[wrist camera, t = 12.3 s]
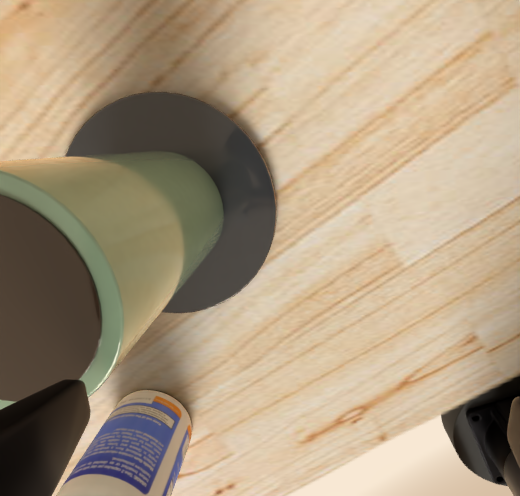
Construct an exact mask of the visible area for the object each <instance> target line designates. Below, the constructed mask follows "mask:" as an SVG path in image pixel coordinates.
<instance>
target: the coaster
mask: <svg viewBox="0 0 520 496" xmlns="http://www.w3.org/2000/svg"><path fill="white" fill-rule="evenodd" d="M146 151H169V152H175V153H178V154H181V155H183V156H185V157H188V158H190V159H191V160H193V161H194V162H196V163H197V164H198V165H200V166H201V167H202V168H203V169H204V170H205V171H206V172H207V173H208V174H209V175H210V177H211V178H212V180H213V181H214V183H215V185H216V186H217V188H218V191H219V193H220V196H221V199H222V203H223V210H224V220H223V227H222V231H221V234H220V237H219V239H218V241H217V243H216V245H215V246H214V248H213V249H212V250H211V251H210V253H209V254H208V255H207V256H206V258H205V259H204V260H203V261H202V262H201V264H200V265H199V266H198V267H197V269H196V270H195V271H194V272H193V274H192V275H191V276H190V277H189V278H188V280H187V281H186V282H185V283H184V285H183V286H182V287H181V288H180V290H179V291H178V292H177V293H176V294H175V296H174V297H173V298H172V299H171V301H170V302H169V303H168V304H167V306H166V307H165V308H164V309H163V310H162V312H168V313H187V312H195V311H200V310H205V309H208V308H211V307H213V306H216V305H218V304H220V303H223V302H225V301H227V300H228V299H230V298H231V297H233V296H234V295H236V294H237V293H239V292H240V291H241V290H242V289H243V288H244V287H245V286H247V285H248V284H249V282H250V281H251V280H252V279H253V278H254V277H255V275H256V274H257V273H258V271H259V270H260V268H261V266H262V265H263V263H264V261H265V259H266V257H267V255H268V252H269V250H270V247H271V244H272V240H273V237H274V232H275V226H276V210H277V206H276V197H275V190H274V186H273V182H272V178H271V175H270V172H269V170H268V167H267V165H266V162H265V160H264V158H263V157H262V155H261V153H260V151H259V149H258V148H257V146H256V145H255V144H254V142H253V141H252V139H251V138H250V137H249V135H248V134H247V133H246V132H245V131H244V130H243V129H242V128H241V127H240V126H239V125H238V124H237V123H236V122H235V121H233V120H232V119H231V118H230V117H228V116H227V115H226V114H225V113H223V112H221V111H220V110H218V109H216V108H215V107H213V106H211V105H209V104H207V103H205V102H202V101H200V100H198V99H195V98H192V97H188V96H185V95H181V94H176V93H168V92H147V93H140V94H134V95H131V96H128V97H125V98H122V99H119V100H117V101H115V102H113V103H111V104H109V105H107V106H105V107H104V108H103V109H101V110H100V111H98V112H97V113H96V114H94V115H93V116H92V117H91V118H90V119H89V120H88V121H87V122H86V123H85V124H84V125H83V127H82V128H81V129H80V131H79V132H78V133H77V134H76V136H75V138H74V139H73V141H72V143H71V145H70V147H69V149H68V151H67V154H66V157H72V156H86V155H101V154H116V153H131V152H146Z"/></svg>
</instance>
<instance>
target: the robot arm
mask: <svg viewBox="0 0 520 496" xmlns="http://www.w3.org/2000/svg"><path fill="white" fill-rule="evenodd" d="M465 415H466V418H467V421H468V423H469V426H470V428H471V431H472V433H473V436H474V438H475V440H476V443H477V445H478V448H479V450H480V453H481V455H482V458H483V460H484V463H485V465H486V468H487V470H488V472H489V475H490V477H491V479H492V481H493V482H494V483H495V484H498V485H502V484H506V483H507V485H508V486H509V488H510V490H511V491H512V493H513V495H514V496H520V394H519V395H515V396H512V397H508V398H505V399H501V400H498V401H495V402H491V403H488V404H484V405H481V406H477V407H474V408H471V409H469V410H467V411H466V414H465ZM475 415H477V416H476V417H473V416H475ZM89 418H90V406H89V401H88V396H87V391H86V386H85V384H84V382H83V381H81V380H72V379H65V380H62V381H60V382H57V383H55V384H53V385H51V386H49V387H47V388H45V389H43V390H41V391H38V392H36V393H34V394H32V395H30V396H28V397H26V398H24V399H22V400H19V401H17V402H15V403H13V404H11V405H9V406H7V407H5V408H3V409H0V496H52V494H53V492H54V490H55V488H56V487H57V485H58V483H59V481H60V479H61V477H62V475H63V473H64V471H65V469H66V467H67V465H68V463H69V461H70V459H71V457H72V454H73V452H74V450H75V448H76V446H77V444H78V442H79V440H80V438H81V436H82V434H83V432H84V430H85V428H86V426H87V424H88V422H89Z"/></svg>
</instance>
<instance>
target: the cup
mask: <svg viewBox="0 0 520 496" xmlns="http://www.w3.org/2000/svg"><path fill="white" fill-rule="evenodd" d="M223 220H224V210H223V203H222V199H221V196H220V193H219V191H218V188H217V186H216V185H215V183H214V181H213V180H212V178H211V177H210V175H209V174H208V173H207V172H206V171H205V170H204V169H203V168H202V167H201V166H200V165H198V164H197V163H196V162H194V161H193V160H191V159H190V158H188V157H185V156H183V155H181V154H178V153H175V152H169V151H146V152H131V153H116V154H101V155H86V156H72V157H57V158H42V159H27V160H12V161H0V409H3V408H5V407H7V406H9V405H11V404H13V403H15V402H17V401H19V400H22V399H24V398H26V397H28V396H30V395H32V394H34V393H36V392H38V391H41V390H43V389H45V388H47V387H49V386H51V385H53V384H55V383H57V382H60V381H62V380H65V379H72V380H81V381H83V382H84V384H85V386H86V391H87V396H88V397H89V396H91V395H92V394H93V393H94V392H95V391H96V390H97V389H99V388H100V387H101V386H102V384H103V383H104V382H105V381H106V379H107V378H108V377H109V376H110V375H111V373H112V372H113V371H114V370H115V368H116V367H117V366H118V365H119V363H120V362H121V361H122V360H123V359H124V357H125V356H126V355H127V354H128V352H129V351H130V350H131V349H132V347H133V346H134V345H135V344H136V342H137V341H138V340H139V339H140V338H141V336H142V335H143V334H144V333H145V331H146V330H147V329H148V328H149V326H150V325H151V324H152V323H153V322H154V320H155V319H156V318H157V317H158V315H159V314H160V313H161V312H162V310H163V309H164V308H165V307H166V306H167V304H168V303H169V302H170V301H171V299H172V298H173V297H174V296H175V294H176V293H177V292H178V291H179V290H180V288H181V287H182V286H183V285H184V283H185V282H186V281H187V280H188V278H189V277H190V276H191V275H192V274H193V272H194V271H195V270H196V269H197V267H198V266H199V265H200V264H201V262H202V261H203V260H204V259H205V258H206V256H207V255H208V254H209V253H210V251H211V250H212V249H213V248H214V246H215V245H216V243H217V241H218V239H219V237H220V234H221V231H222V227H223Z"/></svg>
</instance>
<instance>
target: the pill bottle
mask: <svg viewBox="0 0 520 496" xmlns="http://www.w3.org/2000/svg"><path fill="white" fill-rule="evenodd" d="M191 435H192V424H191V420H190V417H189V415H188V413H187V411H186V410H185V408H184V407H183V406H182V404H181V403H180V402H178V401H177V400H176V399H174V398H173V397H171V396H169V395H167V394H165V393H162V392H158V391H153V390H141V391H136V392H133V393H131V394H129V395H127V396H125V397H124V398H123V399H122V400H121V401H120V402H119V403H118V404H117V406H116V407H115V408H114V410H113V411H112V413H111V414H110V416H109V417H108V419H107V420H106V422H105V423H104V425H103V426H102V428H101V429H100V431H99V432H98V434H97V435H96V437H95V438H94V440H93V441H92V443H91V444H90V446H89V447H88V449H87V450H86V452H85V453H84V455H83V456H82V458H81V459H80V461H79V462H78V464H77V465H76V467H75V468H74V470H73V471H72V473H71V474H70V475H69V477H68V478H67V480H66V481H65V483H64V484H63V486H62V487H61V489H60V490H59V492H58V493H57V495H56V496H171V494H172V491H173V488H174V485H175V483H176V480H177V477H178V474H179V471H180V468H181V466H182V463H183V460H184V457H185V454H186V452H187V449H188V446H189V443H190V439H191Z"/></svg>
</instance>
